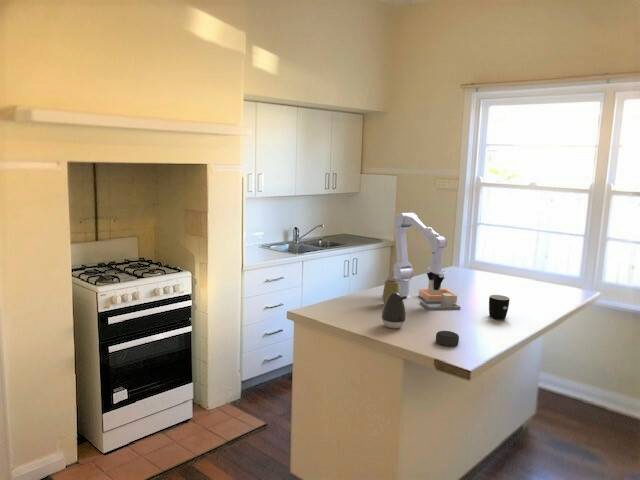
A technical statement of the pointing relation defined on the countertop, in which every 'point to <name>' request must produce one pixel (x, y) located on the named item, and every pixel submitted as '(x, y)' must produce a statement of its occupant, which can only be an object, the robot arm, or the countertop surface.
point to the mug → (498, 306)
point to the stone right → (447, 300)
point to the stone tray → (438, 305)
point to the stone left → (431, 288)
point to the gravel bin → (434, 295)
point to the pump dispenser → (394, 311)
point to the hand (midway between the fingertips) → (434, 288)
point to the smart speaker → (447, 338)
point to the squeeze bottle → (390, 286)
